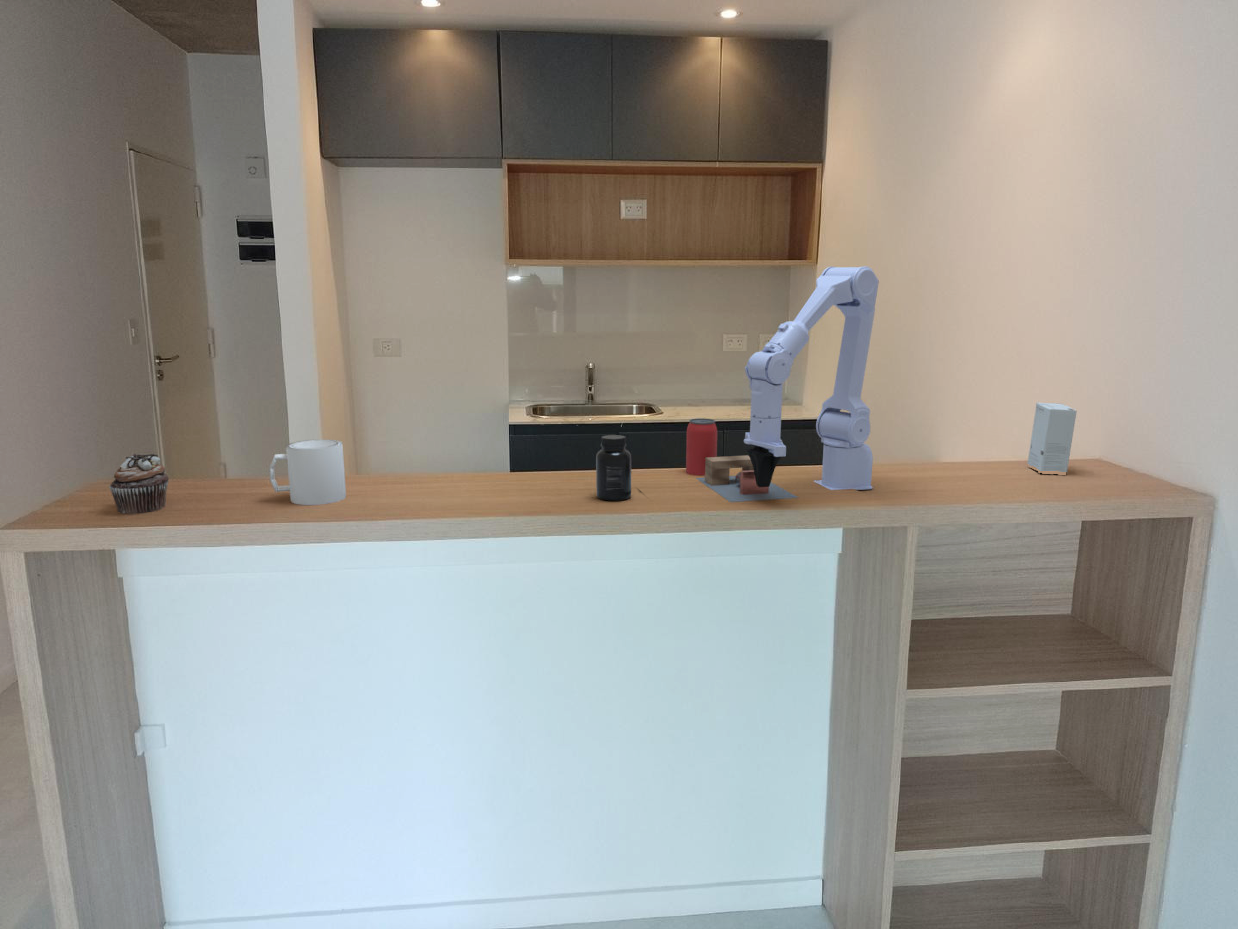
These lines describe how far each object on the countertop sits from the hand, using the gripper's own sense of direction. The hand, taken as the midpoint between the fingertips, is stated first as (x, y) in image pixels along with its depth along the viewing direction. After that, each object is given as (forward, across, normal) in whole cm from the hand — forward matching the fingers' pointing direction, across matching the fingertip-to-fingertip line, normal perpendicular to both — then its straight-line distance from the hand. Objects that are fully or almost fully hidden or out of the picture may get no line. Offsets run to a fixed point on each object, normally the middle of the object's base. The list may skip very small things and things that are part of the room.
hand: (763, 486), depth 166 cm
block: (+2, -14, 0) cm, 14 cm away
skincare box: (+3, -9, +72) cm, 73 cm away
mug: (+3, -23, -84) cm, 87 cm away
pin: (+2, -7, 0) cm, 7 cm away
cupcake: (+3, -23, -114) cm, 116 cm away
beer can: (+3, -24, -4) cm, 24 cm away
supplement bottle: (+3, -10, -27) cm, 29 cm away
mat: (+3, -9, 0) cm, 9 cm away
